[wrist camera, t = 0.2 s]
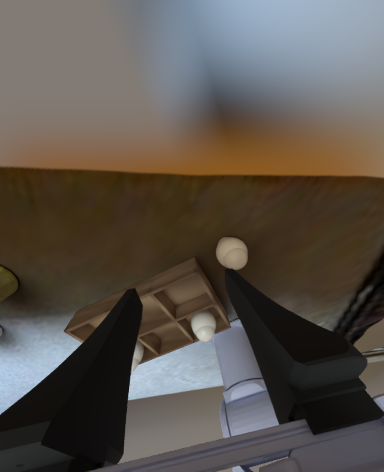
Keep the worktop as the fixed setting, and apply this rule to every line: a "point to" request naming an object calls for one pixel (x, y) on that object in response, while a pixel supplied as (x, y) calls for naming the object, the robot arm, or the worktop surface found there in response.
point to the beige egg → (232, 253)
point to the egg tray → (160, 310)
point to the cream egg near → (203, 325)
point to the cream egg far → (137, 355)
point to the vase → (7, 283)
